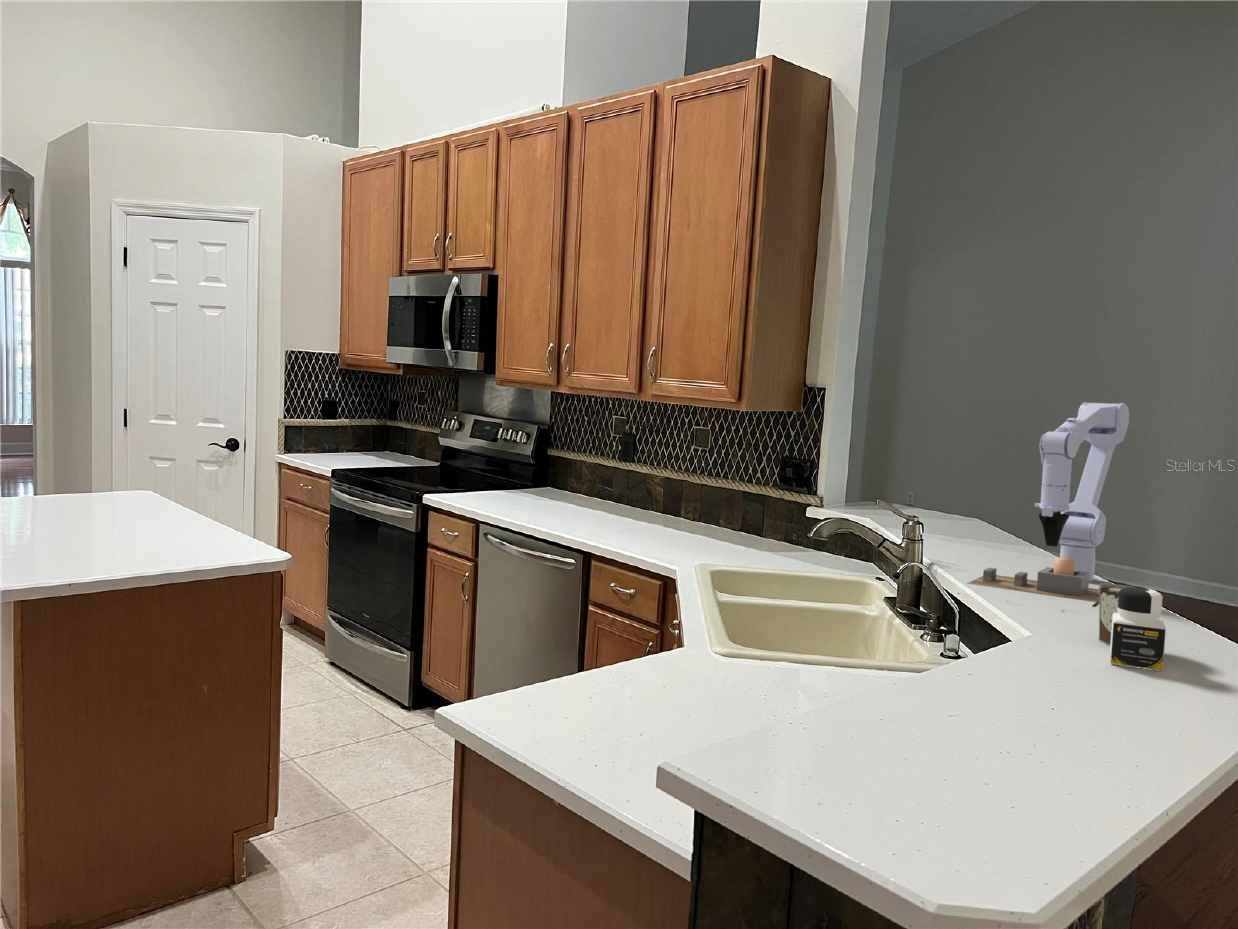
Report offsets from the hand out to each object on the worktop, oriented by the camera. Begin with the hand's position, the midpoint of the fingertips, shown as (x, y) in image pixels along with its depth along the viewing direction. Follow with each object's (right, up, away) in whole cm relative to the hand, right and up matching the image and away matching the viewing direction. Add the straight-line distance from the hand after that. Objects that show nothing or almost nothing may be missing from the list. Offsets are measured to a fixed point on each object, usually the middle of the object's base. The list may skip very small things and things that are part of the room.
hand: (1051, 545), depth 203 cm
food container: (-10, -13, -49) cm, 52 cm away
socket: (0, -10, -5) cm, 12 cm away
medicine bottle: (-15, -14, -59) cm, 62 cm away
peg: (0, -9, -5) cm, 11 cm away
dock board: (-4, -10, -2) cm, 11 cm away
